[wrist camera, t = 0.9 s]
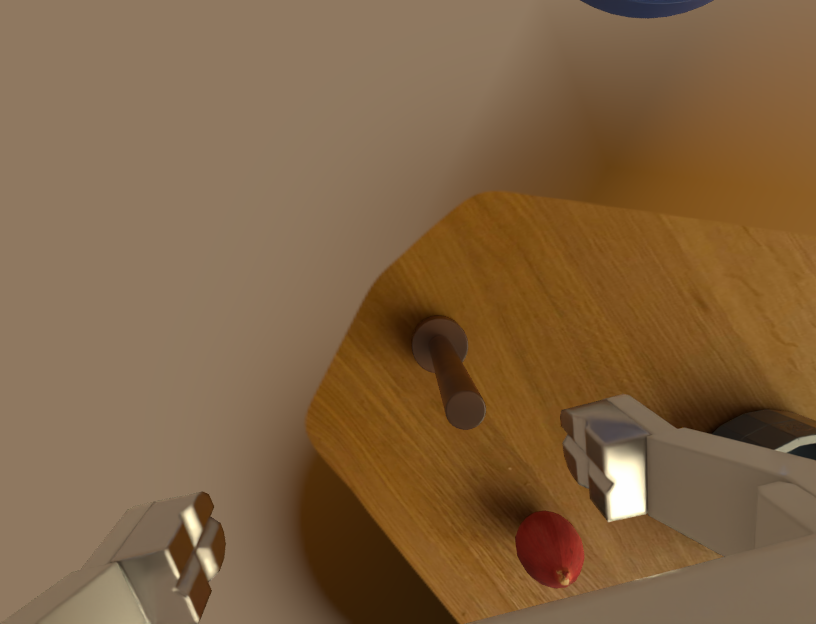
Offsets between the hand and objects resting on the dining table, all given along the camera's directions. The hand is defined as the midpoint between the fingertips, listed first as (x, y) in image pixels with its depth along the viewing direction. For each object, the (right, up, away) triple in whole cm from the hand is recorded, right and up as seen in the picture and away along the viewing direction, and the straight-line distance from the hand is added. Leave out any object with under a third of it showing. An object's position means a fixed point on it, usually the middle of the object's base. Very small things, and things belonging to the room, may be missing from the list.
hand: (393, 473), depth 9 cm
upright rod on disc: (+3, +1, +29) cm, 29 cm away
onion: (+13, -17, +31) cm, 38 cm away
